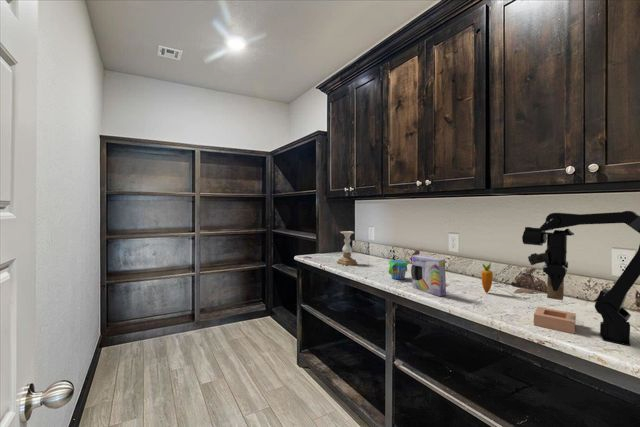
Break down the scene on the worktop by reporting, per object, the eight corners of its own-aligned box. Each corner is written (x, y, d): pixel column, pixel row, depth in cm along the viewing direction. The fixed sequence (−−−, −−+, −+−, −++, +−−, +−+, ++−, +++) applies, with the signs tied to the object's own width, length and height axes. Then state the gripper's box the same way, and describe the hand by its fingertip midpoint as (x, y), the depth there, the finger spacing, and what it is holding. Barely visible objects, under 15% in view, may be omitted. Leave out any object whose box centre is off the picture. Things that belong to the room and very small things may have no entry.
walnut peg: (563, 297, 113) (564, 270, 113) (562, 300, 110) (563, 272, 110) (548, 295, 116) (548, 268, 116) (547, 297, 113) (547, 270, 113)
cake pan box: (410, 287, 163) (410, 254, 163) (417, 286, 166) (417, 253, 165) (439, 297, 146) (439, 260, 146) (446, 296, 149) (447, 259, 148)
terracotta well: (575, 324, 114) (575, 313, 114) (574, 333, 105) (574, 322, 105) (537, 316, 121) (537, 306, 121) (533, 325, 113) (533, 314, 113)
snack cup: (399, 275, 192) (400, 258, 192) (413, 278, 184) (414, 261, 183) (382, 278, 183) (382, 261, 183) (395, 282, 175) (396, 264, 174)
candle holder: (357, 264, 226) (357, 232, 225) (345, 266, 220) (345, 232, 219) (348, 262, 235) (348, 230, 235) (336, 263, 229) (336, 231, 229)
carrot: (480, 293, 153) (481, 263, 153) (481, 291, 158) (482, 261, 157) (491, 295, 151) (492, 264, 150) (492, 292, 155) (493, 262, 154)
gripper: (533, 243, 125) (532, 281, 125) (526, 247, 111) (525, 290, 111) (568, 245, 118) (567, 286, 118) (566, 250, 103) (564, 296, 104)
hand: (555, 289), depth 113 cm, fingers closed on walnut peg, 4 cm apart
